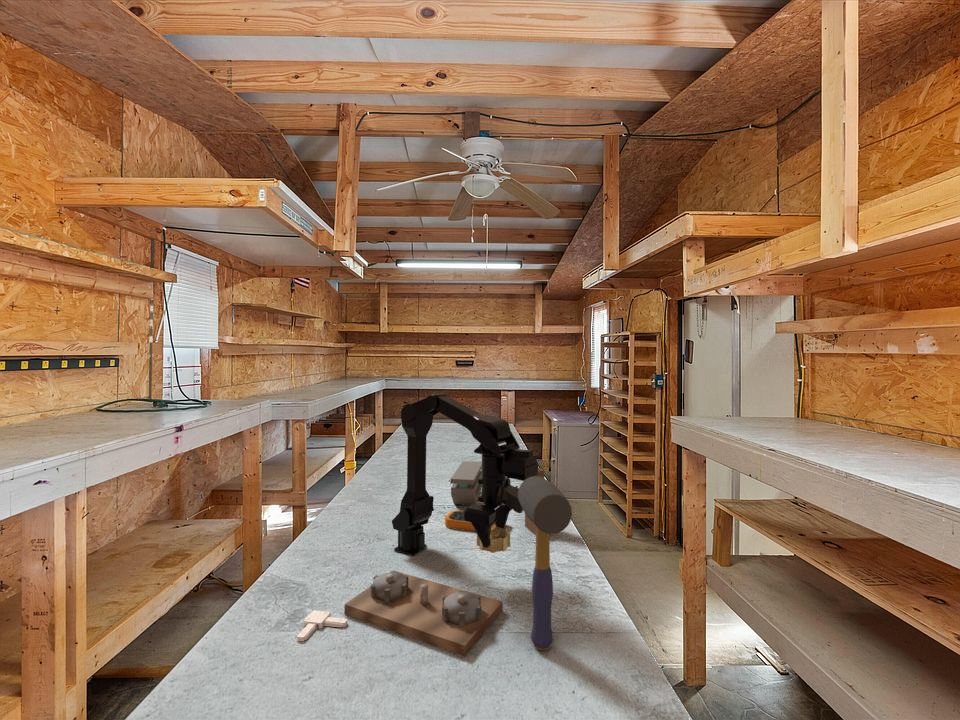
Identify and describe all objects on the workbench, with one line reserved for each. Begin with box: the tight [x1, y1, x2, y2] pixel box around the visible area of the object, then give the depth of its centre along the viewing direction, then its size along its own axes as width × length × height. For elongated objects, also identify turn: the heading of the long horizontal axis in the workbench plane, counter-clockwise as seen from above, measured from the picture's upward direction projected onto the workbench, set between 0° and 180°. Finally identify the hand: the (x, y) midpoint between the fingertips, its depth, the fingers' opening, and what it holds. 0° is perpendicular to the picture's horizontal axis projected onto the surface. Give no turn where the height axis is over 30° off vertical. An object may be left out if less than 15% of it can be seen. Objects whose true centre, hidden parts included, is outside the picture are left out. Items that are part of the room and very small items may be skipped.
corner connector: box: [296, 609, 348, 642], centre depth 87 cm, size 8×8×2 cm
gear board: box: [344, 570, 504, 658], centre depth 93 cm, size 28×16×6 cm, turn 63°
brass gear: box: [476, 526, 511, 554], centre depth 106 cm, size 8×8×3 cm
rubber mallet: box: [518, 476, 573, 651], centre depth 82 cm, size 12×8×30 cm, turn 9°
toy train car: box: [449, 460, 482, 506], centre depth 164 cm, size 25×8×11 cm, turn 172°
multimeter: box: [444, 509, 496, 532], centre depth 139 cm, size 9×18×3 cm, turn 73°
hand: (493, 540), depth 106 cm, fingers closed on brass gear, 7 cm apart
